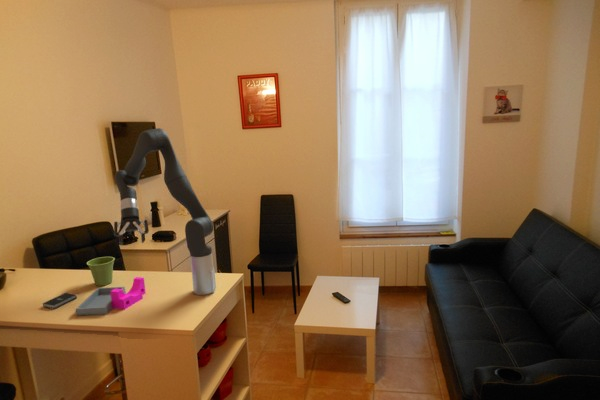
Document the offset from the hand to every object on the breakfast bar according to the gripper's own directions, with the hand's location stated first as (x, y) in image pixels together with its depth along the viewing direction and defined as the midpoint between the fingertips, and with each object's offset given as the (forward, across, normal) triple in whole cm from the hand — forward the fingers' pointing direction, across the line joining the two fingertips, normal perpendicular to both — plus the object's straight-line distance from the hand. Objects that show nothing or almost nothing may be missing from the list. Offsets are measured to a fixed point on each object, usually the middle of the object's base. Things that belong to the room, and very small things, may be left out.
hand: (132, 243), depth 175 cm
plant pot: (+10, -12, +25) cm, 30 cm away
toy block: (+25, -2, +2) cm, 25 cm away
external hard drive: (+19, -29, +16) cm, 38 cm away
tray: (+24, -13, +5) cm, 28 cm away
